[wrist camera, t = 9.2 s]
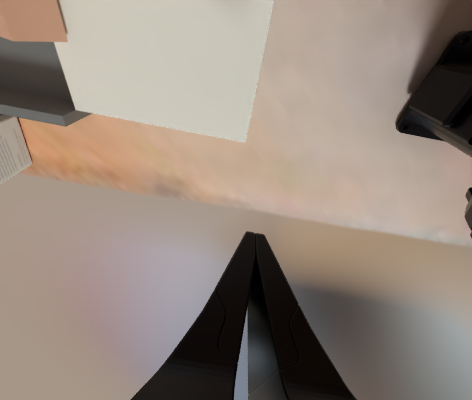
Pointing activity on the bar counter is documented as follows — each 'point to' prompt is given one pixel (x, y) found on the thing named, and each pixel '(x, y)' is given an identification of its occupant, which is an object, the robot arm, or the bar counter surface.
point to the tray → (35, 83)
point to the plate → (166, 61)
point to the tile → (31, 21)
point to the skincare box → (12, 148)
